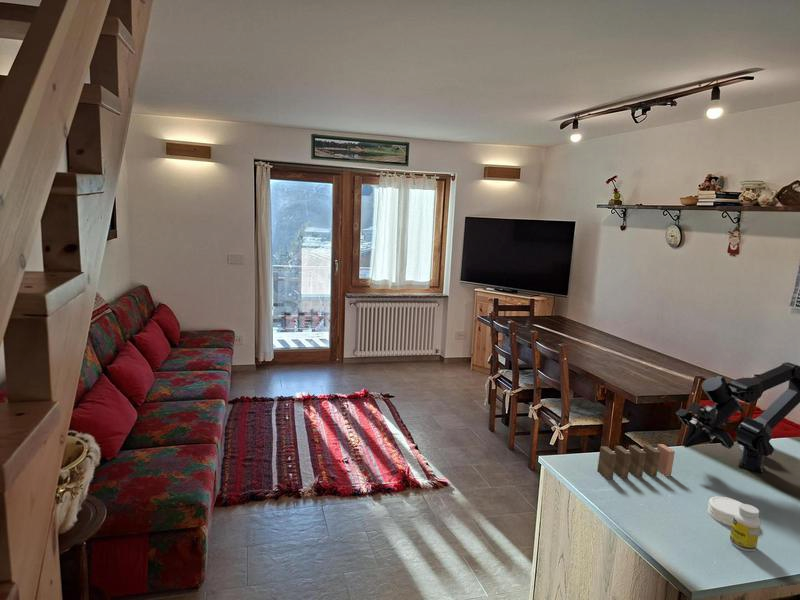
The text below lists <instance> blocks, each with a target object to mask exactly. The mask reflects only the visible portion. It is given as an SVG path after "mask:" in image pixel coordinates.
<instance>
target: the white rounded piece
mask: <svg viewBox="0 0 800 600" xmlns="http://www.w3.org/2000/svg"><path fill="white" fill-rule="evenodd" d="M740 504H744V503H743V502H741V501H739V500H736V499H734V498H731V497H725V496H712V497H710V499H709V500H708V504H707V506H708V507H707V509H706V510H707V513H708V515H709V516H711V518H713V520H716V521H717V522H718V523H720V524H722V525H726V526H728V527H731V528H732V524H733V518H734V514H735V513H736V512H739V506H740Z"/></svg>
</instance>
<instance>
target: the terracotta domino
mask: <svg viewBox="0 0 800 600" xmlns="http://www.w3.org/2000/svg"><path fill="white" fill-rule="evenodd" d="M656 449H657V450H658V451H660V458H659V464H658V471H657V472H659V473H660V472H661V473H660V474H662V475H663V474H664V475H663V476H665V477H667V476H668V475H671V476H672V470H673V464H674V459H675V453H676V452H675V451H674V450H673V449H672V448H670V447H669V446H667V445H666V444H663V443H660V444H659V443H657V447H656ZM668 477H669V476H668Z"/></svg>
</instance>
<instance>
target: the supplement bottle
mask: <svg viewBox="0 0 800 600" xmlns="http://www.w3.org/2000/svg"><path fill="white" fill-rule="evenodd" d="M759 515H760V510H759V509H758V508H757V507H755V506H753V505H751V504H748V503H743V504H740V506H739V512H736V513H735V514H734V518H733V524H732V527H731V530H730V535H729V542H730V543H731V545H733V546H734V547H736V548H738V549H739V550H741V551H745V552H755V551H756V550H757V545H758V541H759V534H760V531H761V524H762V523H761V520H760V518H759Z"/></svg>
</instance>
